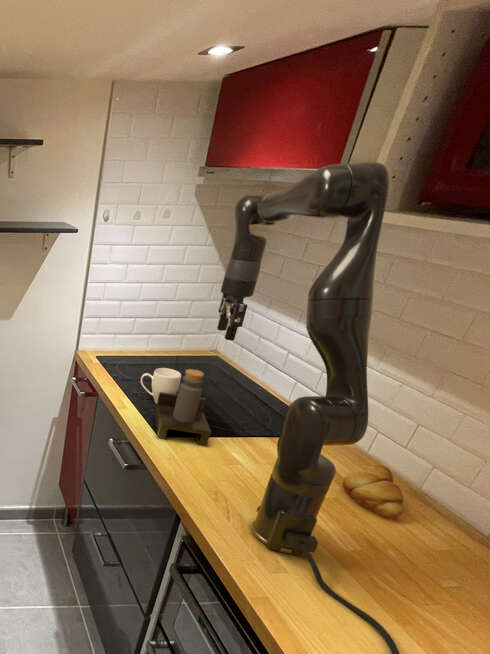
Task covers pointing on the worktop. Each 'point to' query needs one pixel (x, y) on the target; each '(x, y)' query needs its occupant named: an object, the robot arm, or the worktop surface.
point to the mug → (163, 382)
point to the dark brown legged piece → (167, 421)
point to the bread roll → (375, 490)
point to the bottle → (188, 396)
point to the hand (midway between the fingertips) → (225, 334)
